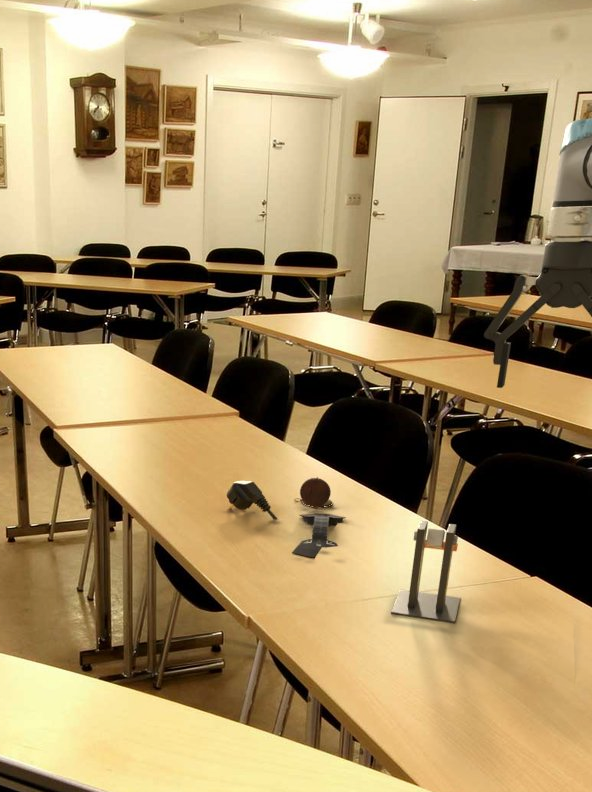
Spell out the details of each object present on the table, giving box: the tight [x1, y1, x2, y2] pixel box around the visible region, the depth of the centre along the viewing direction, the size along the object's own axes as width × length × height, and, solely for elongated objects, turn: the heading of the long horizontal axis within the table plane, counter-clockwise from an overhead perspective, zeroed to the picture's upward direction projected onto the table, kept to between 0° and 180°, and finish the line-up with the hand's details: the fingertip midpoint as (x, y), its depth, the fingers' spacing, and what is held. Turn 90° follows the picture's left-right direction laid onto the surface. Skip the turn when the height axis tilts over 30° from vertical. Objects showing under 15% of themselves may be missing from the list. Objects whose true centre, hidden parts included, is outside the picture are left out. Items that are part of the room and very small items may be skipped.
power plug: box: [226, 480, 278, 520], centre depth 188 cm, size 6×8×12 cm
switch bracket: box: [390, 520, 462, 624], centre depth 138 cm, size 10×9×14 cm
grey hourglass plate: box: [291, 512, 347, 559], centre depth 173 cm, size 9×25×3 cm, turn 163°
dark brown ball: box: [293, 476, 334, 509], centre depth 191 cm, size 8×8×7 cm
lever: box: [424, 528, 459, 552], centre depth 140 cm, size 13×6×2 cm, turn 154°
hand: (549, 389), depth 138 cm, fingers open, 13 cm apart
